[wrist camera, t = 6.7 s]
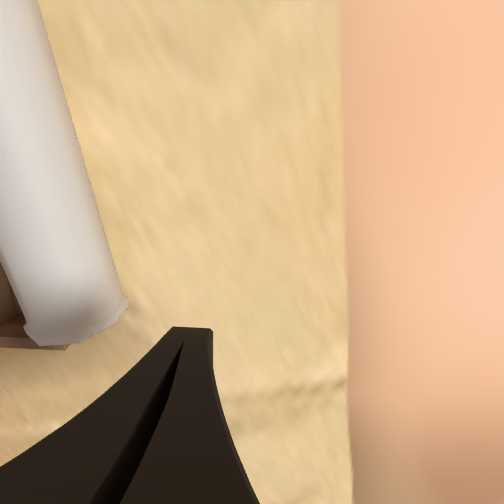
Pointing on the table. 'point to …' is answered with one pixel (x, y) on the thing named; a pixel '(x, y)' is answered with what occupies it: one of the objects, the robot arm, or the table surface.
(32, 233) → the tube
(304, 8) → the table surface
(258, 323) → the table surface
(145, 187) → the table surface
